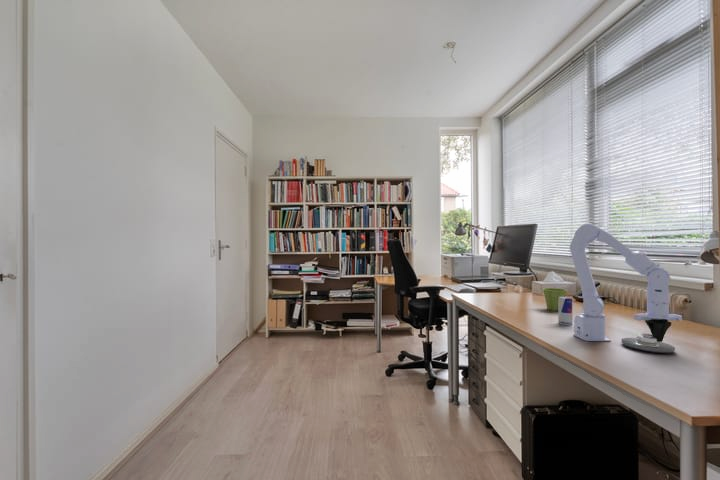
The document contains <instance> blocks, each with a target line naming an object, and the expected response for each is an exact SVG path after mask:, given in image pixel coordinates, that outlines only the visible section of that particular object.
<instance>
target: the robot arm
mask: <svg viewBox="0 0 720 480" xmlns="http://www.w3.org/2000/svg"><path fill="white" fill-rule="evenodd" d="M594 240H595V241H596V242H600V243H604V244H606V245H608V246H609V247H610V248H612V249H613V250H615V251H616V252H617V253H618V254H620V255H622V256H623V257H625V258H624V259H625V260H624V261H625V262H624V263H625V264H627V265H628V266H630V268H632V269H633V270H635V271H636V272H638V274H640V275H641V276H645V277H646V279H647V288H646V312H645V313H643V312H642V313H634V314H633V320H636V321H640V322H642V321H644V322H645V324H646V325H647V326H648V329H649V330H650V333H651V335H652V336H653V337H656V338H657V342H663V341H664V338H665V335H666V333H667V331H668V330H669V328H670V327H671V326H672V322H671V321H678V322H683V315H680V314H674V313H670V290H669V287H670V285H669V282H670V281H671V276H670V273H669V272H668V271H667V270H666V269H664V268H663V267H661V264H660V263H656V262H655V261H653V260H652V259H650V258H649V257H648V254H647V253H645V252H641V251H639V250H638V251H634V250H631V249H630V248H629V247H627V246H626V245H625V244H623V242H621V241H620V240H618V239H617V238H616V237H615V236H613V235H612V234H611V233H609V232H607V231H605V230H604V229H602V228H599V227H598V226H597V225H595V224H594V223H593V224H592V223H584V224H582V225H580V226H579V227H578V228H577V229H576V231H575V232H574V236H573V237H572V240H571V241H570V244H569V251H570V254H571V258H572V261H573V265H574V268H575V271H576V275H577V279H578V282H579V286H580V289H581V295H582V300H583V303H582V306H581V308H582V310H583V311H582V313H581V314H579V315H575V316H574V320H573V325H574V327H573V333H572V335H573V336H574V337H577V338H579V339H580V340H583V341H586V342H611V341H612V339H610V338H607V337H606V315H605V314H604V313H603V311H604V309H605V302H604V300H603V299H602V298H601V297H600V295H599V292H598V290H597V288H596V284H595V281H594V278H593V275H592V270H591V267H590V263H589V260H588V256H587V253H586V248H587V247H589V245H590V243H592V242H593V241H594Z"/></svg>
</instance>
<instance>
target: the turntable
mask: <svg viewBox="0 0 720 480" xmlns="http://www.w3.org/2000/svg"><path fill="white" fill-rule="evenodd" d="M620 342H621V344H622V345H624V346H627V347H629V348H631V349H634V350H637V351H641V352H646V353H653V354H669V353H675V351H676V347H675V346H673V345H672V344H669V343H665V342H663V341H662V342H657V346H647V345H642V344H639V343H637V337H624V338H622V339H621V341H620Z"/></svg>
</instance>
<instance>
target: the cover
mask: <svg viewBox="0 0 720 480" xmlns="http://www.w3.org/2000/svg"><path fill="white" fill-rule="evenodd" d="M636 338H637V343H639V344H642V345H647V346H657V338H656V337H653V336H652V333H651V334H650V333H641V334H637V335H636Z"/></svg>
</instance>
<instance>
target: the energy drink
mask: <svg viewBox="0 0 720 480" xmlns="http://www.w3.org/2000/svg"><path fill="white" fill-rule="evenodd" d="M557 311H558V312H557V313H558V315H557V318H558V319H557V321H558V322H557V323H558V324H559V325H563V326H572V325H573V298H572V297H571V296H565V297H559V299H558V310H557Z"/></svg>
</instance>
